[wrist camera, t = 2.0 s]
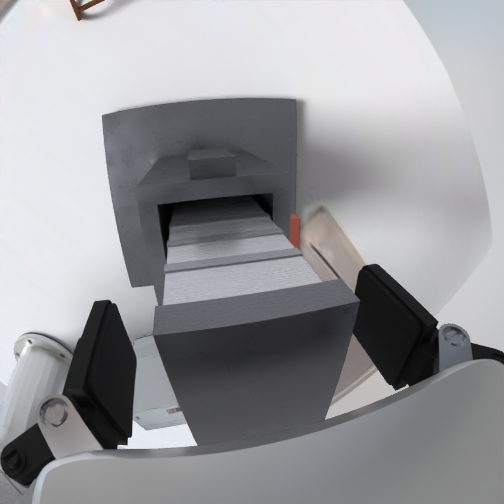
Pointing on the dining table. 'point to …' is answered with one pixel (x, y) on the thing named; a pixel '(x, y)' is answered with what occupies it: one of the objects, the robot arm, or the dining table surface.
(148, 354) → the skincare box
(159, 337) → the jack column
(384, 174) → the dining table surface
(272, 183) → the base
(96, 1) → the glasses
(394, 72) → the dining table surface
